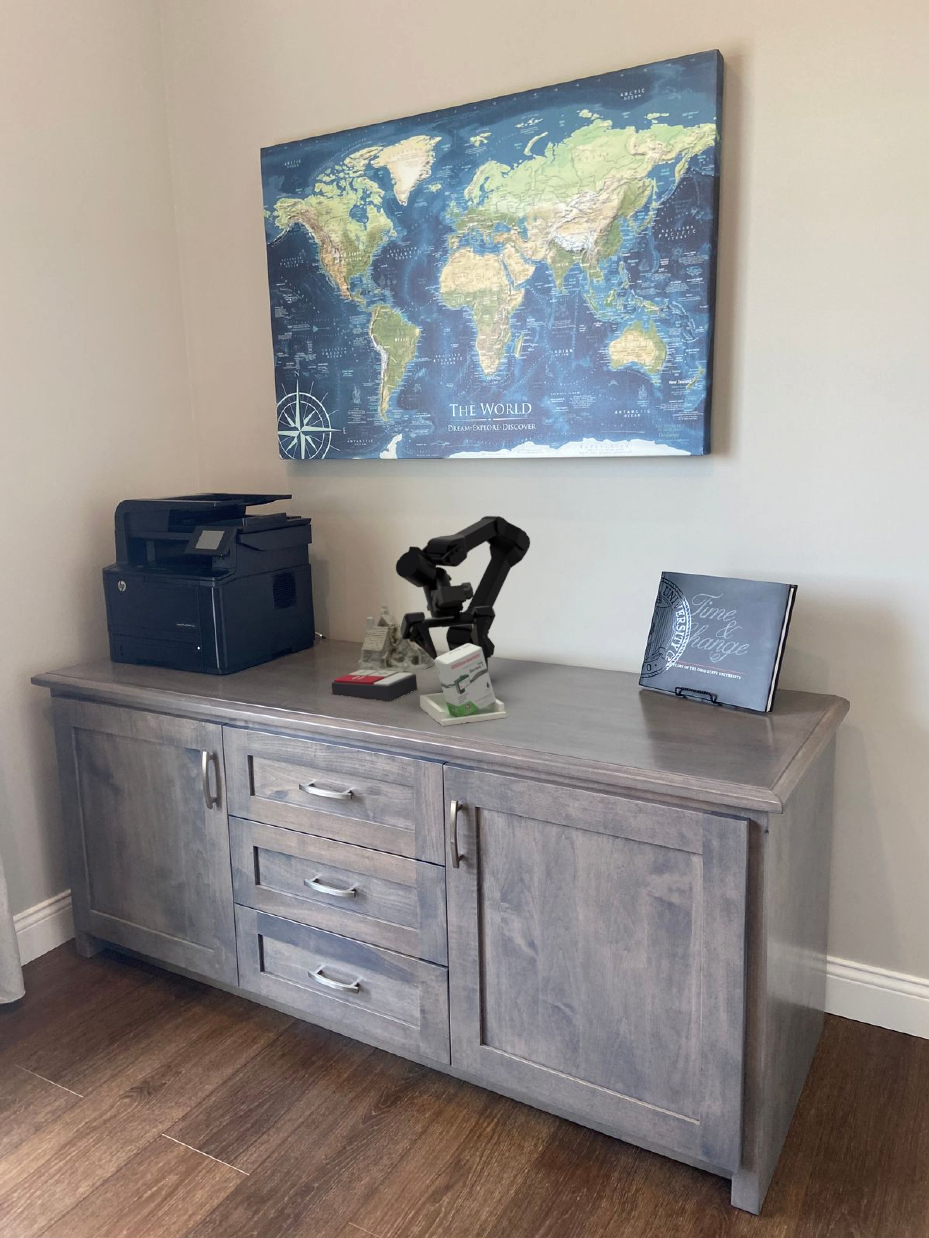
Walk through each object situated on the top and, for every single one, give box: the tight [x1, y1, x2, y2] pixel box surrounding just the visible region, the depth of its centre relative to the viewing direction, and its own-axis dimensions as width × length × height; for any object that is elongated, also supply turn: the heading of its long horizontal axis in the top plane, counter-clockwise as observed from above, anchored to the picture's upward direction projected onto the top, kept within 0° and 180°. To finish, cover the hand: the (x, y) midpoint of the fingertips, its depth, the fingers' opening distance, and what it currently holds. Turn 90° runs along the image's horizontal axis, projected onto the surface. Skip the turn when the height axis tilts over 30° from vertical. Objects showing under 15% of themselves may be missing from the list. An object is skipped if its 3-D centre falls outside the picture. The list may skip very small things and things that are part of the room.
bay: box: [419, 692, 507, 727], centre depth 184 cm, size 13×14×2 cm
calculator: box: [331, 670, 418, 703], centre depth 201 cm, size 11×4×15 cm
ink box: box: [433, 643, 497, 717], centre depth 180 cm, size 9×5×12 cm, turn 122°
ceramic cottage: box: [356, 603, 434, 673], centre depth 222 cm, size 16×16×15 cm
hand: (458, 657), depth 183 cm, fingers open, 9 cm apart
